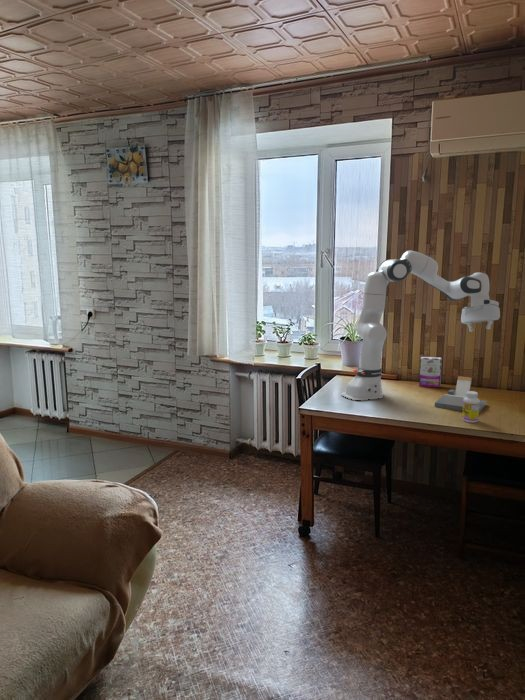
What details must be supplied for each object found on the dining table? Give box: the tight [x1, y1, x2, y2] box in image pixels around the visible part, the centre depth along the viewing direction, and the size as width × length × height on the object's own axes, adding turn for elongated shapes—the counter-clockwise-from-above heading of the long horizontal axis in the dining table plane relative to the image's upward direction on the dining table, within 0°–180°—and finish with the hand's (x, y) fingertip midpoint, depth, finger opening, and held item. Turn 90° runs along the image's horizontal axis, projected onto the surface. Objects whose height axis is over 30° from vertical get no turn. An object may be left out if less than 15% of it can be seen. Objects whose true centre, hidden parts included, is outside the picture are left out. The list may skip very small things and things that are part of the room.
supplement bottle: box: [461, 390, 480, 424], centre depth 218 cm, size 7×7×13 cm
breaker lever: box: [455, 375, 473, 397], centre depth 241 cm, size 2×6×12 cm, turn 55°
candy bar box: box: [418, 356, 443, 389], centre depth 277 cm, size 11×5×16 cm, turn 68°
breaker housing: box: [434, 389, 487, 414], centre depth 240 cm, size 16×20×7 cm
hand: (479, 330), depth 255 cm, fingers open, 8 cm apart
